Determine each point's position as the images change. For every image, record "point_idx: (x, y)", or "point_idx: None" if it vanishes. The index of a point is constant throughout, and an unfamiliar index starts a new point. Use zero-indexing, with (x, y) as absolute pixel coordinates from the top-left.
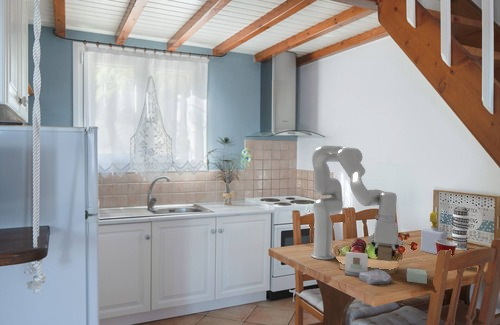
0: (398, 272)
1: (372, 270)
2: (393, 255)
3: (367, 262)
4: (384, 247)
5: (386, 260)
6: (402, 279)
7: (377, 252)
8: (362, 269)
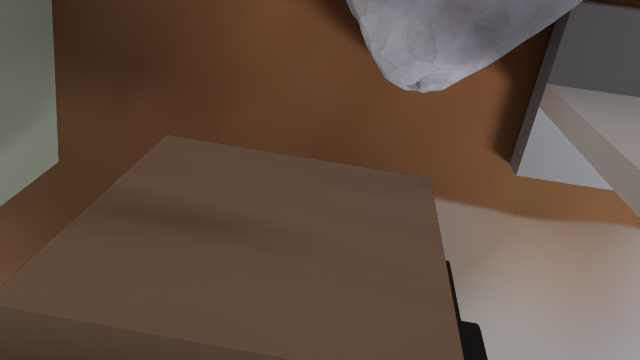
0: None
1: (522, 5)
2: None
3: (615, 143)
4: (246, 351)
5: (256, 150)
6: (104, 17)
7: None
8: (637, 108)
